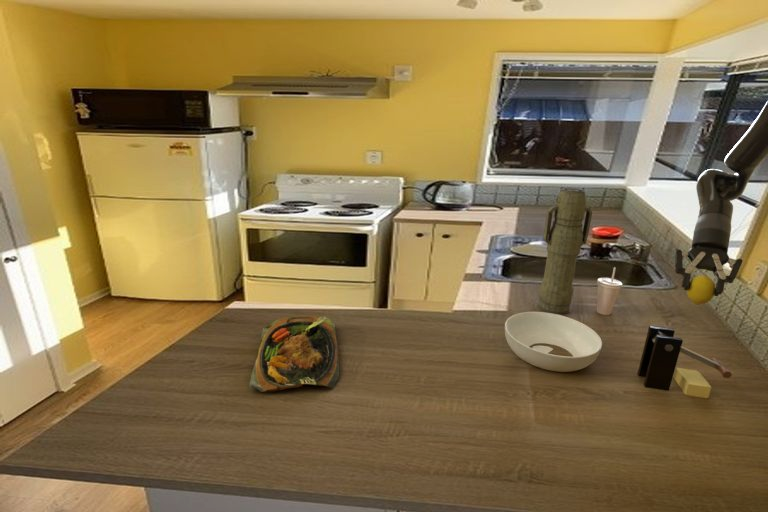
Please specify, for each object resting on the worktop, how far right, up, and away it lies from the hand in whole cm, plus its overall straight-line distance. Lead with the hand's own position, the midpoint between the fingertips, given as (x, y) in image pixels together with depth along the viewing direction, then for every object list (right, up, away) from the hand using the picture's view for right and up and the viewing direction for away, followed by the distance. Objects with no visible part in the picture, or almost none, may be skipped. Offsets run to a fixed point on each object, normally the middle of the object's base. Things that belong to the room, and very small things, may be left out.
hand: (701, 291), depth 104 cm
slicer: (-22, -19, -15) cm, 33 cm away
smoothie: (-14, -8, +19) cm, 25 cm away
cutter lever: (-17, -12, -19) cm, 28 cm away
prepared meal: (-98, -14, -7) cm, 99 cm away
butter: (-15, -20, -17) cm, 30 cm away
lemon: (+1, -4, +3) cm, 5 cm away
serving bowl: (-40, -15, -5) cm, 43 cm away
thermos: (-28, -7, +21) cm, 36 cm away
